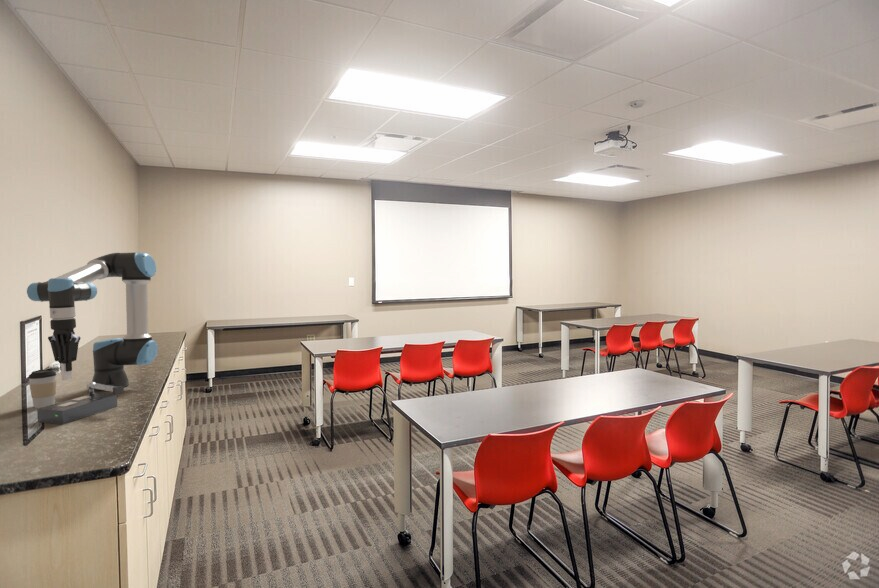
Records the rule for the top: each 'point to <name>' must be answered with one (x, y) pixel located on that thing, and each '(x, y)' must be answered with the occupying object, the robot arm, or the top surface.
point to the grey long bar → (105, 387)
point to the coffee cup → (43, 387)
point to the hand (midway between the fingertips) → (66, 379)
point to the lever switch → (77, 408)
